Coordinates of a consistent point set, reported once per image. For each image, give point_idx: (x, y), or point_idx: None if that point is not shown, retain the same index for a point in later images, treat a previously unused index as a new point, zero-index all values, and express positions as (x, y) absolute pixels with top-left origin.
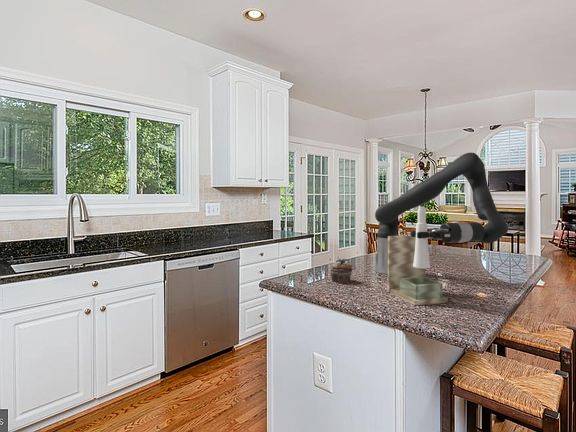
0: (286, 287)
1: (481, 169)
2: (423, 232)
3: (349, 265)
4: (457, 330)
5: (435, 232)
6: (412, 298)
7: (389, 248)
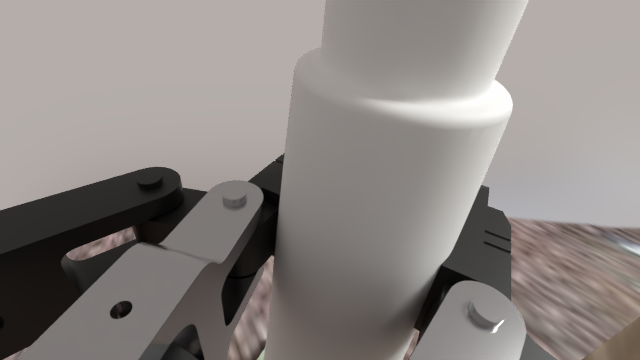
0: (614, 232)
1: None
2: None
3: None
4: (120, 231)
5: (127, 177)
6: None
7: (616, 334)
